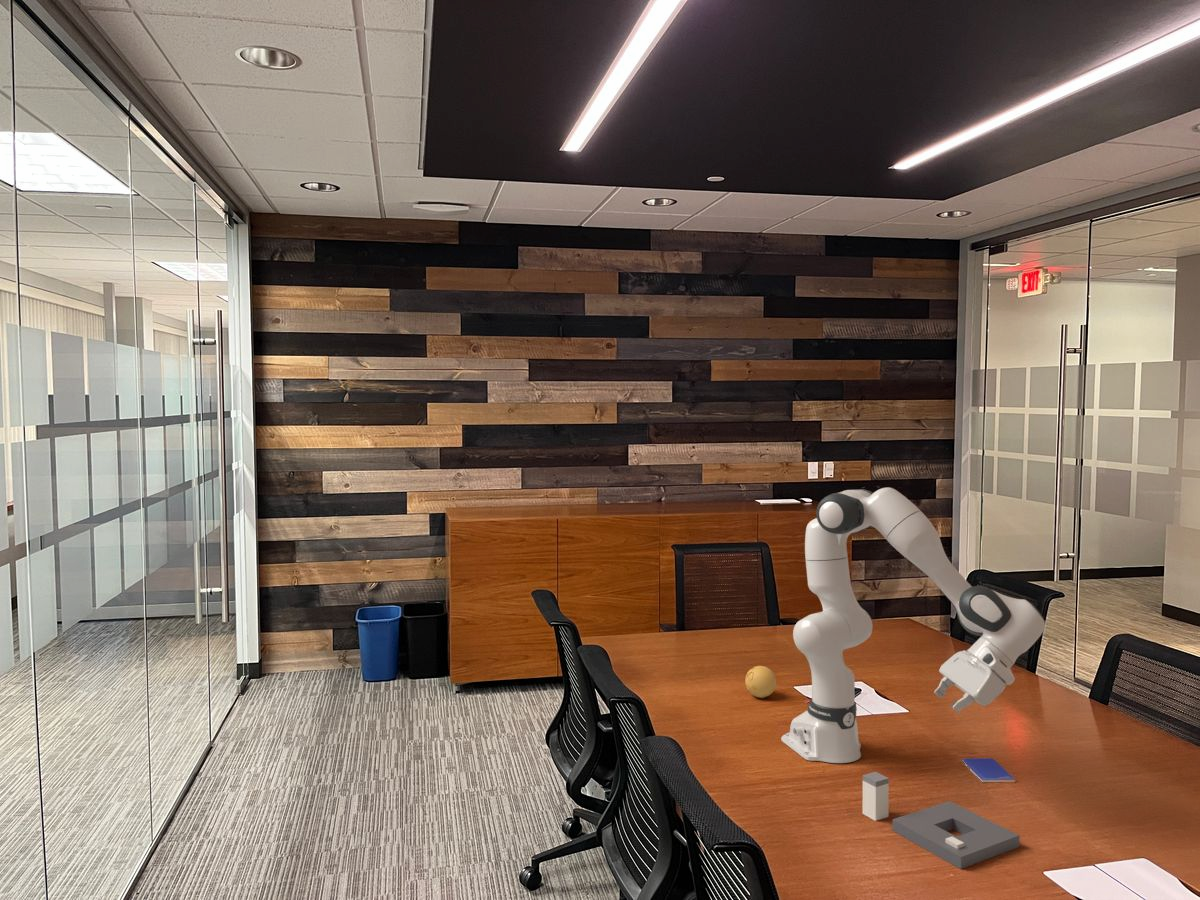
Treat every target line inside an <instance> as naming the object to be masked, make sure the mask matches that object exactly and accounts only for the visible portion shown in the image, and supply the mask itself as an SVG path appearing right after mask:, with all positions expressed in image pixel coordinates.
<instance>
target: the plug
mask: <svg viewBox="0 0 1200 900" xmlns="http://www.w3.org/2000/svg"><path fill="white" fill-rule="evenodd" d="M889 779H890V778H889V777H887V776H885V775H883V774H881V773H879V772H877V771H873V772H869V773H866V774H863V775H862V814H863V815H864V816H866V817H868V818H870V819H871V820H872V821H874V822H877V821H879V820H883V819H886V818H889V814H890V813H889V808H890V807H889V806H890V805H889V796H890V795H889V794H890V793H889V791H890V789H889V785H890V783H889V781H890V780H889Z"/></svg>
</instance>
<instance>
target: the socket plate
mask: <svg viewBox="0 0 1200 900" xmlns="http://www.w3.org/2000/svg"><path fill="white" fill-rule="evenodd" d="M951 830H954V831H956V832H958V833H959V834H961V835H957V836H956V835H954V834H953V833H950V832H949V831H951ZM892 831H893V832H895V833H896V834H898V835H900V836H901V837H903V838H905V839H907V840H909V841H910V842H913V844H915V845H918V846H919V847H921V848H923V849H925V850H926V851H928V852H930V853H932V854H934V855H935V856H937V857H939V858H940V859H942V860H944V861H946V862H948V863H949V864H950V865H953V866H955V867H956V868H957V869H960V870H962V869H965V868H968V867H970V866H973V865H976V864H978V863H981V862H983V861H985V860H989V859H991V858H994V857H996V856H998V855H1002V854H1004V852H1005V853H1007V852H1009V851H1012V850H1015V849H1017V848H1020V845H1021V843H1020V842H1021V839H1020V834H1019V833H1018V834H1017V833H1016V832H1014V831H1011V830H1010V829H1008V828H1005V827H1003V826H1002V825H1000V824H998V823H995V822H993V821H992V820H989V819H987V818H985V817H984V816H981V815H979V814H977V813H975V812H973V811H971V810H969V809H967V808H965V807H963V806H961V805H959V804H956V803H955V802H953V801H950V800H948V801H945V802H942V803H938V804H936V805H933V806H929V807H926V808H923V809H921V810H918V811H915V812H911V813H908V814H905V815H903V816H898V817H895V818H893V819H892ZM975 863H976V864H975Z"/></svg>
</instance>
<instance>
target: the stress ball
mask: <svg viewBox="0 0 1200 900" xmlns="http://www.w3.org/2000/svg"><path fill="white" fill-rule="evenodd" d="M744 681H745V682H744V684H745V687H746V689H747V691H748V692H749V693H750V694H751V695H753V696H754V697H756V698H758V699H765V698H766V697H769V696H771V694H773V693H774V691H775V689H776V688H777V677H776V675H775V673H774V672H773V670H771V669H770V668H768V667H767V666H763V665H757V666H753V667H751V668H750V669H749V670H748V671H747V672H746V675H745V679H744Z"/></svg>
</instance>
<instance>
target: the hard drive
mask: <svg viewBox="0 0 1200 900" xmlns="http://www.w3.org/2000/svg"><path fill="white" fill-rule="evenodd" d="M962 761H963V762H964V763H965V764H964V763H963V762H962V763H963V764H964V765H965V767H967V766H968V767H969V768H970V769H969V768H968V767H967V768H968V769H969V770H970V772H971V773H973V775H974V776H975V777H976V776H977V777H978V778H979V779H980V780H981V781H982V782H1000V781H1016V782H1017V780H1016V779H1015V778H1014V776H1012V775H1011V774H1010V773H1009V772H1008V771H1007V770H1006V769H1005V768H1004V767H1003V766H1002V765H1000V763H999V762H997V761H996V760H995V759H994V758H992V757H991V758H987V757H986V758H984V757H983V758H975V757H973V758H972V757H971V758H962ZM977 777H976V778H977ZM978 778H977V779H978ZM979 779H978V780H979ZM980 780H979V781H980ZM981 781H980V782H981ZM982 782H981V783H982Z"/></svg>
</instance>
